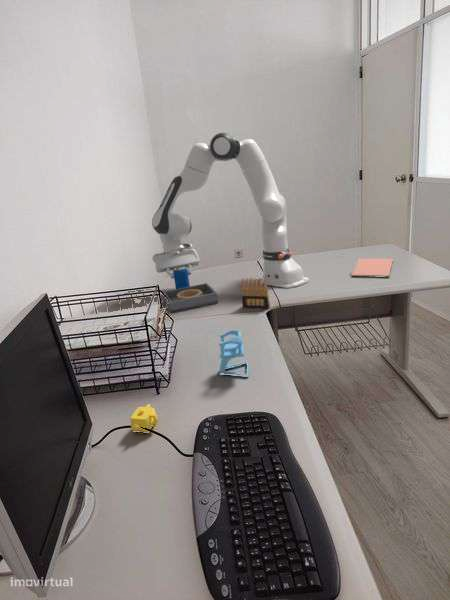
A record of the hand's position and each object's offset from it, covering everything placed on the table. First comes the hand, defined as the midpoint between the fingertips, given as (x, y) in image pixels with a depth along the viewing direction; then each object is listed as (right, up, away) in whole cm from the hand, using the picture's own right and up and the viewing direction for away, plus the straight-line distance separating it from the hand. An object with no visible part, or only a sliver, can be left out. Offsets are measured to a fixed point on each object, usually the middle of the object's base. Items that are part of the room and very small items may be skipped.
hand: (181, 276), depth 182 cm
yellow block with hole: (+2, -41, -88) cm, 97 cm away
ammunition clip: (+32, -14, -23) cm, 42 cm away
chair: (+22, -31, -68) cm, 78 cm away
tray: (+5, -12, -9) cm, 16 cm away
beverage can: (+1, -8, +3) cm, 9 cm away
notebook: (+88, +3, +7) cm, 89 cm away
